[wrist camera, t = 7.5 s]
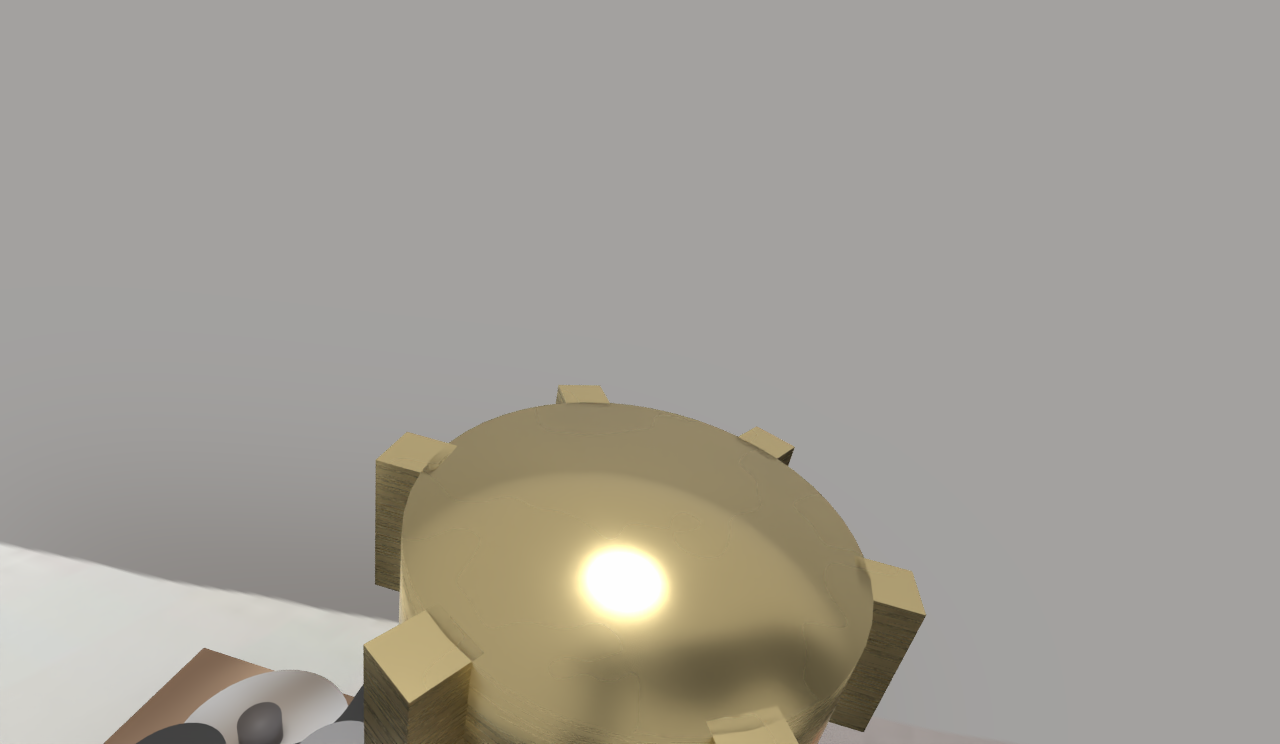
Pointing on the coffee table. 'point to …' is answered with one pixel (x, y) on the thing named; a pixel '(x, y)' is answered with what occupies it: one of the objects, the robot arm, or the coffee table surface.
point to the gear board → (239, 702)
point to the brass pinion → (621, 587)
